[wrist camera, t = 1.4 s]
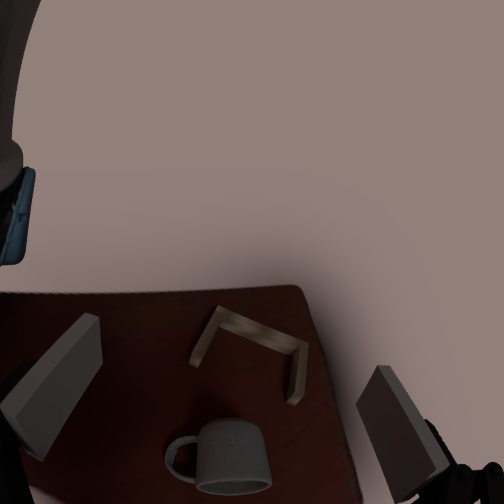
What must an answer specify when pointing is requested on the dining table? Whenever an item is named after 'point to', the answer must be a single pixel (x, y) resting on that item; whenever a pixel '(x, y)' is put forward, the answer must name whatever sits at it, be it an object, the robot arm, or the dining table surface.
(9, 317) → the dining table surface
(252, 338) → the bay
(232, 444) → the ceramic mug
